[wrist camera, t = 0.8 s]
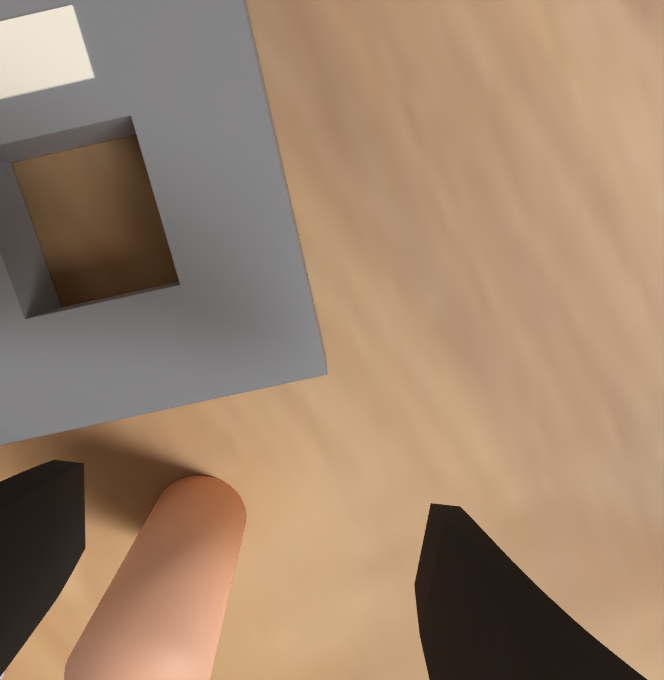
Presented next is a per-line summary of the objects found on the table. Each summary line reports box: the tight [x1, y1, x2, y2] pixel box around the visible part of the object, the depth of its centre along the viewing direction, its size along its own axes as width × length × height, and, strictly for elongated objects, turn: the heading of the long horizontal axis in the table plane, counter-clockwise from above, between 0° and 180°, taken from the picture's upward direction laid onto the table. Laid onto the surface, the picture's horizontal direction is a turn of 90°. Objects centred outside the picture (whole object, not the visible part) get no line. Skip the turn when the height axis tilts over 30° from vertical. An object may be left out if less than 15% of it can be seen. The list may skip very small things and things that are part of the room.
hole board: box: [0, 0, 327, 445], centre depth 17 cm, size 14×14×3 cm
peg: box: [64, 475, 246, 680], centre depth 18 cm, size 4×4×8 cm
